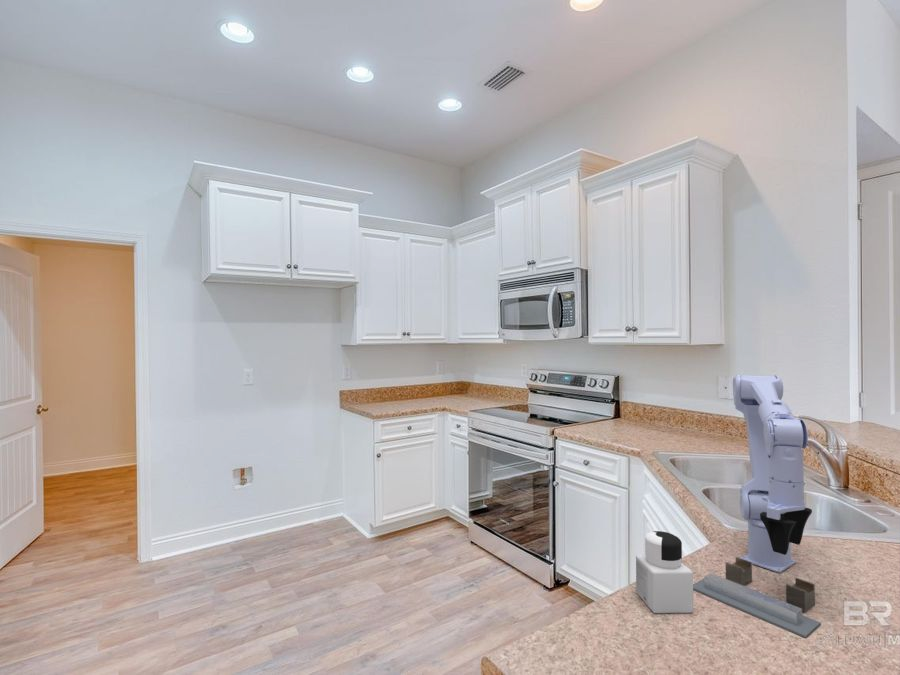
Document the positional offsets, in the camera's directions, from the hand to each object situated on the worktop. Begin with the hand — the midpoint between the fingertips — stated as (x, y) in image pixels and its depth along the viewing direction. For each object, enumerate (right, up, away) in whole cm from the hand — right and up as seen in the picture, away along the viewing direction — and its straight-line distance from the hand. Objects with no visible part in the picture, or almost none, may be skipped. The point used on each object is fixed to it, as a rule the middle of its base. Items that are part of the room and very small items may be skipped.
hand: (786, 547), depth 92 cm
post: (+1, -10, -3) cm, 10 cm away
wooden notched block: (-6, -10, +6) cm, 13 cm away
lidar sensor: (-25, -10, -2) cm, 27 cm away
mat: (-9, -10, -3) cm, 14 cm away
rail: (-9, -9, -3) cm, 13 cm away
